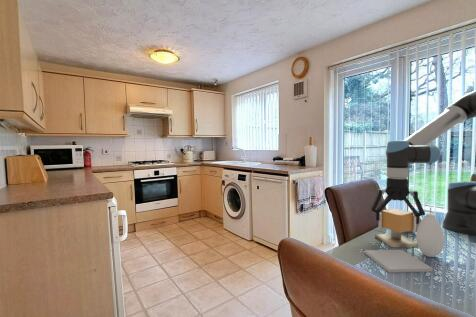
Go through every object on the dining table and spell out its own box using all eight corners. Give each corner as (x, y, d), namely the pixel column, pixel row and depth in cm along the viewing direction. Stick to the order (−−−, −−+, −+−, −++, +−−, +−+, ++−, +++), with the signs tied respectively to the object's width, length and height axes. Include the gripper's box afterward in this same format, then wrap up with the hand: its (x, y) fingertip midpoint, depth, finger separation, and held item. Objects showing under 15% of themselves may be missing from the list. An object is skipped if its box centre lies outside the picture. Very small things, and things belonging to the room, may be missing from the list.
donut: (422, 234, 108) (423, 212, 107) (421, 236, 105) (422, 214, 105) (396, 229, 114) (396, 208, 114) (395, 231, 112) (395, 210, 111)
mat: (401, 252, 89) (401, 249, 89) (432, 271, 75) (432, 268, 75) (364, 253, 89) (364, 250, 89) (389, 272, 75) (389, 269, 75)
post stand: (399, 236, 105) (400, 211, 105) (419, 246, 94) (419, 218, 94) (375, 236, 105) (375, 211, 104) (392, 247, 94) (392, 219, 93)
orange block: (412, 229, 97) (413, 212, 97) (400, 232, 94) (400, 215, 94) (393, 224, 104) (393, 208, 104) (381, 226, 101) (381, 210, 101)
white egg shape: (447, 262, 81) (448, 210, 80) (418, 258, 84) (419, 208, 84) (439, 253, 88) (441, 205, 87) (413, 249, 91) (414, 203, 91)
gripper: (428, 177, 97) (427, 230, 98) (364, 175, 106) (363, 224, 107) (436, 179, 90) (435, 236, 91) (366, 177, 99) (365, 229, 100)
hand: (396, 229), depth 99 cm, fingers closed on orange block, 11 cm apart
